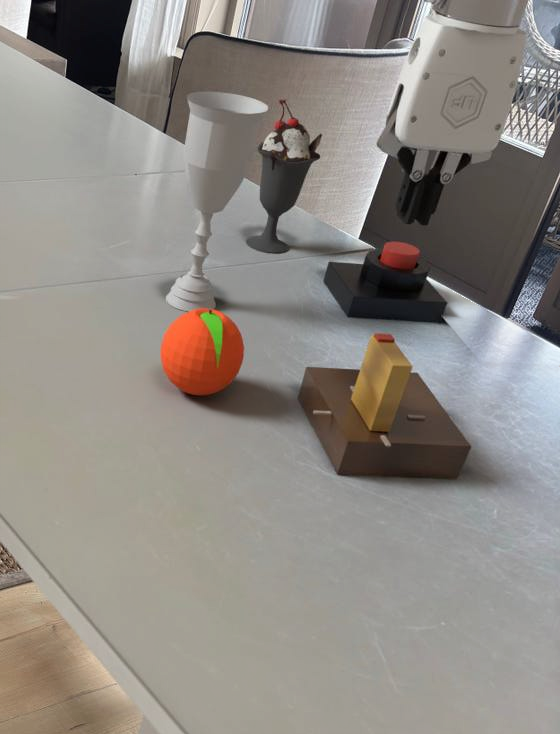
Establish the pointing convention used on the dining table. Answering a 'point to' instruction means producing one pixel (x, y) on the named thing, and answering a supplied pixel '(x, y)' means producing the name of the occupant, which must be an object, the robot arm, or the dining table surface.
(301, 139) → the sundae
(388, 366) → the thumbturn
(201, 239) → the chalice
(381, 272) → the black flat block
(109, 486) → the dining table surface
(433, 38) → the robot arm
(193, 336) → the clementine
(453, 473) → the plate
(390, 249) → the bell button
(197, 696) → the dining table surface
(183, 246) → the dining table surface
